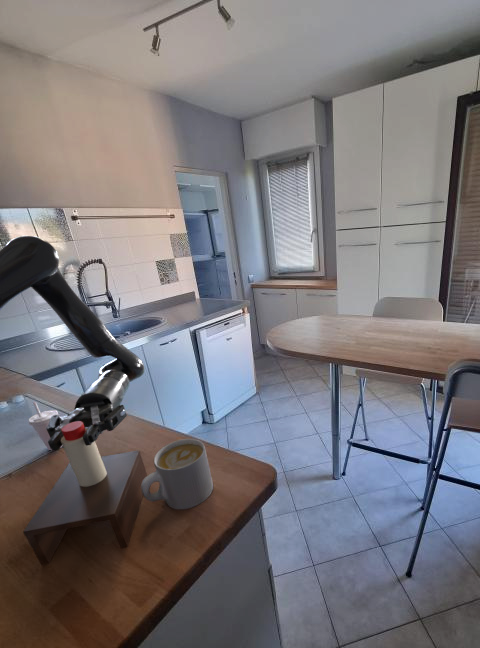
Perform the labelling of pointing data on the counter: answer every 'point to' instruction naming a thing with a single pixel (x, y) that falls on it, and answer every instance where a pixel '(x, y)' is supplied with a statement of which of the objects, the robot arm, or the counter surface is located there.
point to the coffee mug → (180, 475)
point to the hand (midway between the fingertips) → (70, 443)
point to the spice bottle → (82, 455)
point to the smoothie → (42, 423)
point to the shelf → (89, 504)
